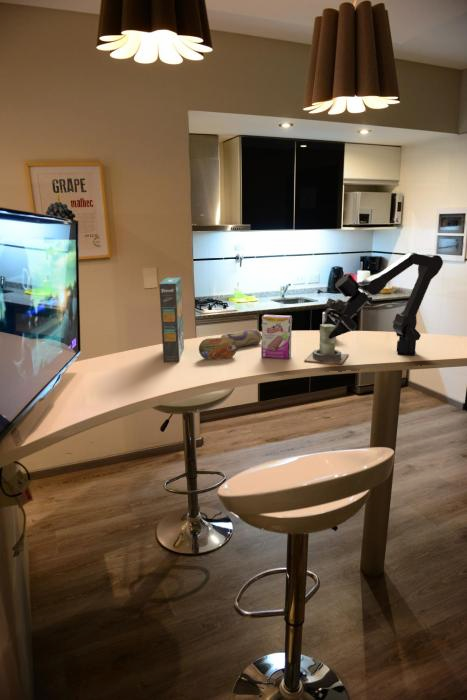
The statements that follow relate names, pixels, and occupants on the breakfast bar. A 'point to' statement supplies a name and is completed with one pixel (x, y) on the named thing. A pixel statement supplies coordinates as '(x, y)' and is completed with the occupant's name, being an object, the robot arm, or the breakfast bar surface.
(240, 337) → the beige packaged roll
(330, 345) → the peg
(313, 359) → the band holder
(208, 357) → the brown printed food package
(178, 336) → the cake mix box
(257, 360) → the breakfast bar surface
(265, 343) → the candy bar box
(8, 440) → the breakfast bar surface
